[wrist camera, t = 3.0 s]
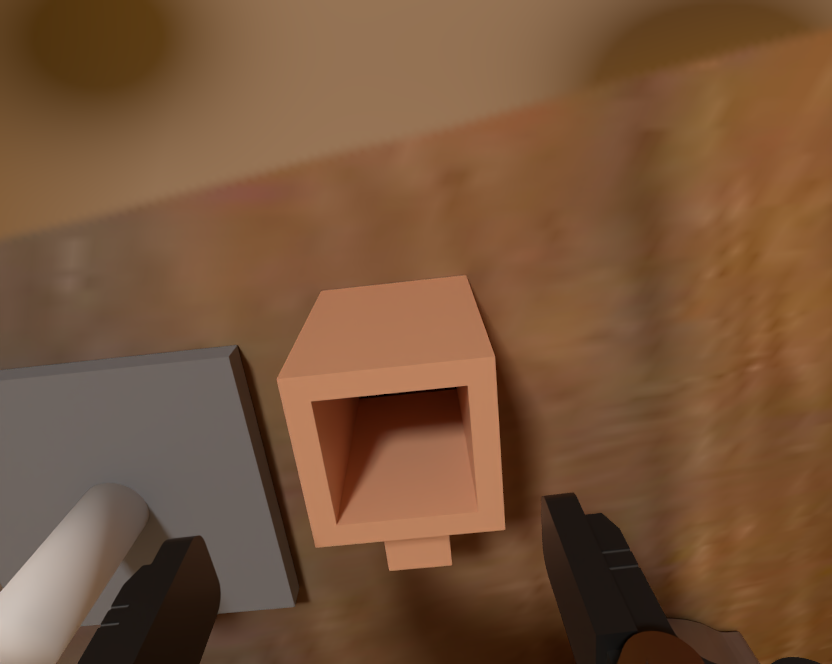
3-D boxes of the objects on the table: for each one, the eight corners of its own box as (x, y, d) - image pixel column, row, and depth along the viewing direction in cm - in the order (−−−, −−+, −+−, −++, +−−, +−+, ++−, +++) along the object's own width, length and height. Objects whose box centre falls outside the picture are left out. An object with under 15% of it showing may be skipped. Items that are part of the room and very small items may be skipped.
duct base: (237, 345, 23) (151, 458, 15) (299, 587, 28) (258, 761, 21) (-78, 378, 23) (-313, 504, 16) (41, 611, 29) (-93, 790, 21)
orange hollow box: (466, 275, 22) (494, 356, 14) (481, 468, 25) (510, 613, 18) (321, 290, 22) (276, 378, 15) (356, 480, 26) (334, 628, 18)
